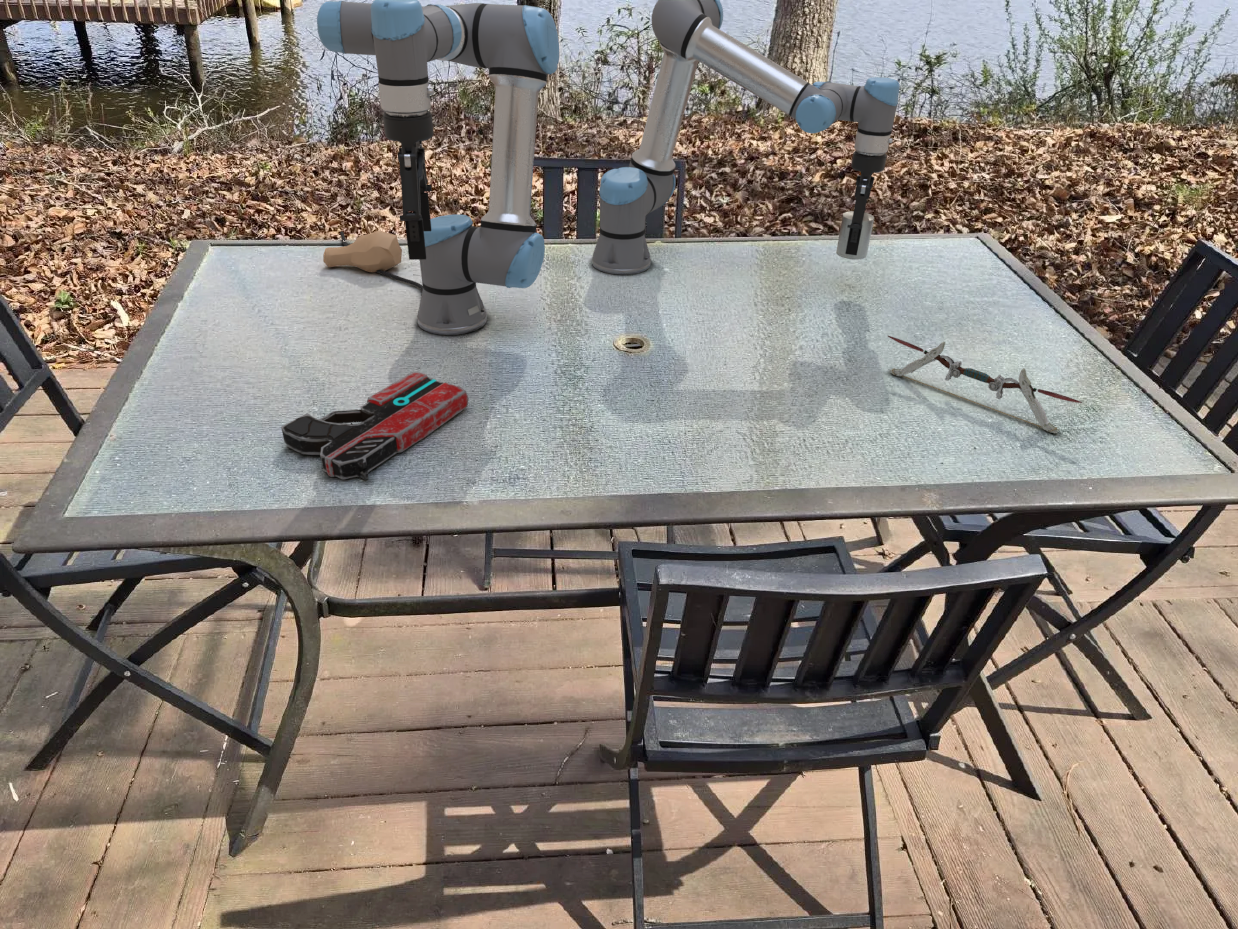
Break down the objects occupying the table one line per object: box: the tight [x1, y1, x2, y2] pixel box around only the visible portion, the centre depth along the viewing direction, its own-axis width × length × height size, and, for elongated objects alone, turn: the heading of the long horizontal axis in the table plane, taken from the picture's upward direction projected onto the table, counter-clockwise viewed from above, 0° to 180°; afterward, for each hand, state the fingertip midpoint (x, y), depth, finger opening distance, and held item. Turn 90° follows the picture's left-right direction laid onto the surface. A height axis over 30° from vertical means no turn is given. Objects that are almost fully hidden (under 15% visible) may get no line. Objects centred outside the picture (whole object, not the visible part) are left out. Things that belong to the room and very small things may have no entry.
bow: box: [887, 335, 1083, 434], centre depth 169 cm, size 39×2×10 cm, turn 47°
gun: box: [280, 371, 469, 481], centre depth 156 cm, size 4×31×19 cm
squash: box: [322, 230, 403, 273], centre depth 220 cm, size 11×20×9 cm, turn 90°
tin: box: [835, 210, 875, 261], centre depth 211 cm, size 7×7×9 cm
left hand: (420, 244), depth 148 cm, fingers open, 13 cm apart
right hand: (852, 248), depth 213 cm, fingers closed on tin, 7 cm apart
